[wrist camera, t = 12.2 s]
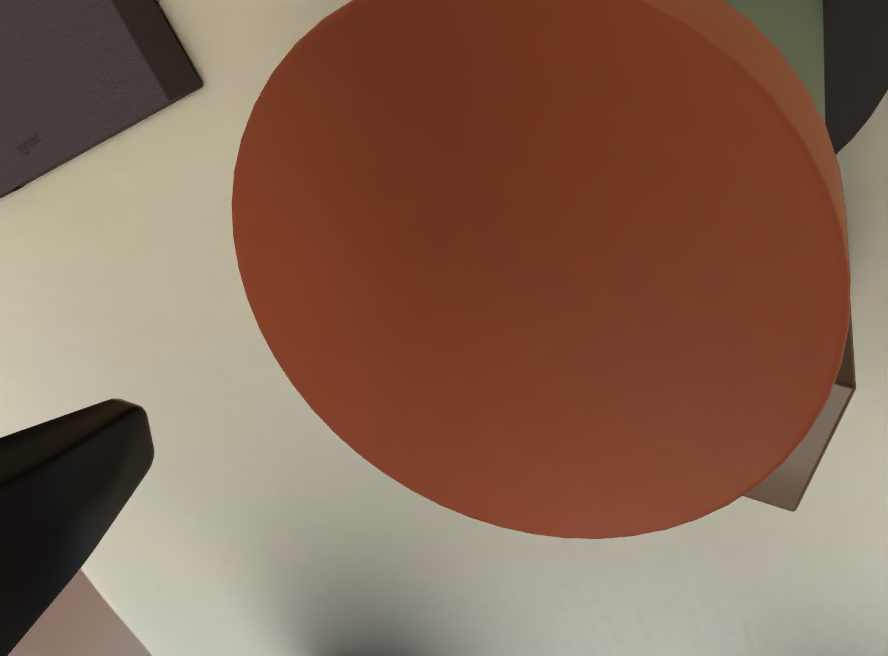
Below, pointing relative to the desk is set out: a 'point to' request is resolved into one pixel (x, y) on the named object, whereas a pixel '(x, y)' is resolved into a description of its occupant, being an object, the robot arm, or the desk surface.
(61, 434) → the robot arm
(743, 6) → the container
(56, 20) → the notebook
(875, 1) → the coaster
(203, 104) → the desk surface
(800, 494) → the block
